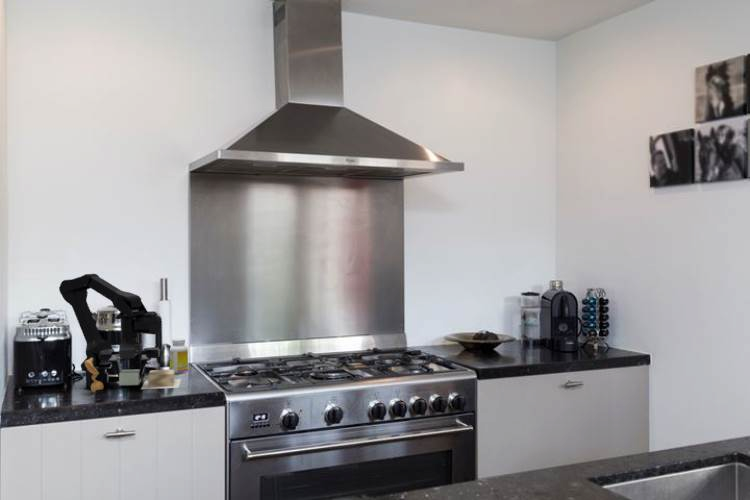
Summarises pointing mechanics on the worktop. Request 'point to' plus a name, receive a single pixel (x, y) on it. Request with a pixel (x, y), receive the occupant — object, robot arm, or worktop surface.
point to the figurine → (97, 384)
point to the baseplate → (175, 385)
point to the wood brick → (161, 378)
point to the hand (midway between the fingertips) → (130, 379)
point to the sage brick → (129, 377)
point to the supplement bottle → (179, 356)
